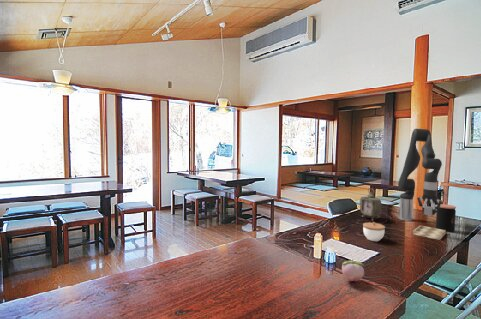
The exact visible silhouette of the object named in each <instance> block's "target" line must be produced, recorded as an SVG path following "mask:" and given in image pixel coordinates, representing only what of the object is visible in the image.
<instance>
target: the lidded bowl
mask: <svg viewBox="0 0 481 319" xmlns="http://www.w3.org/2000/svg"><path fill="white" fill-rule="evenodd" d="M385 229H386V226H385V225H383V224H381V223H376V222H375V221H372V222H364V223H362V231H363V236H365V238H366V239H367V240H368V241H372V242H379V241H381V239H383V237H384V236H385Z"/></svg>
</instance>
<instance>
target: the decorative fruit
mask: <svg viewBox="0 0 481 319" xmlns="http://www.w3.org/2000/svg"><path fill="white" fill-rule="evenodd" d="M363 266H365V264H363V263H362V262H360V261H358V260H357V261H355V260H354V259H352V260H346V261H344V262H342V263H341V272H342V275H343V277H344V278H345V279H347V280H348V281H350V282H351V281H355V282H357V281H359V280H361V279H362V278H363V277H364V276H365V270H364V268H363Z"/></svg>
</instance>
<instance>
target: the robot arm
mask: <svg viewBox="0 0 481 319" xmlns="http://www.w3.org/2000/svg"><path fill="white" fill-rule="evenodd" d="M417 142H425V143H424V145H422V147H421V150H420V151H421V155H420V153H419V150H418V149H417ZM406 154H407V155H406V157H405V160H404V161H405V162H404V165H403V168H402V172H401V174H400V177H399V179H398V181H397V187H398V189H399V190H401V191H405V192H403V193H400V195H399V207H398V213H397V214H398V215H397V219H398V220H402V221H406V222H407V221H408V222H410V221H413V210H414V197H415V191H416V183H415V182H416V181H415V179H413V178H409V176H410V175H411V174H412V173H413V172H414V171H415V170H416V169H417V168H418V166H419V165H420V161H421V156H422V162H421V165H422V167H423V169H425V170H432V171H430V172H425V173H424V180H423V185H422V186H423V187H422V189H423V190H422V196H420V197H419V196H418V197H417V203H418V206H419V207H421V208H422V209H421V211H422V213H423V214H424V207H425V206H427V204H428V205H429V204H430V205H431V207H433V213H432V216H434V215H435V214H437V209H439V207H440V205H441V204H443V200H441V199H439V198H438V176H439V173H440V170H441V168H442V166H443V164H442V163H443V162H442V160H441V159H440V158H436V153H435V151H434V148H433V141H432V133H431V130H429V129H426V128H414V129H413V130H412V133H411V138H410V142H409V147H408V151H407V153H406ZM422 201H423V202H422ZM436 202H437V204H438V205H436Z"/></svg>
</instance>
